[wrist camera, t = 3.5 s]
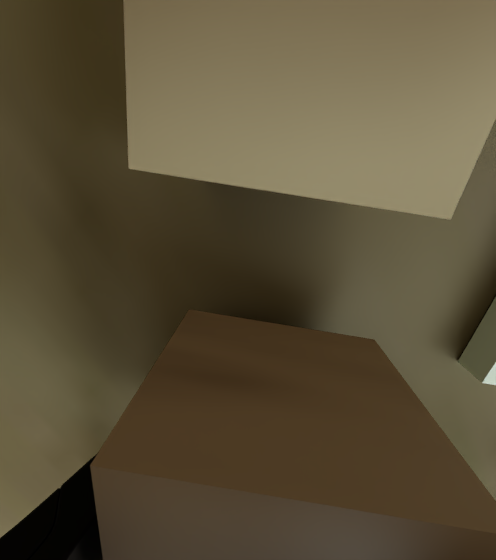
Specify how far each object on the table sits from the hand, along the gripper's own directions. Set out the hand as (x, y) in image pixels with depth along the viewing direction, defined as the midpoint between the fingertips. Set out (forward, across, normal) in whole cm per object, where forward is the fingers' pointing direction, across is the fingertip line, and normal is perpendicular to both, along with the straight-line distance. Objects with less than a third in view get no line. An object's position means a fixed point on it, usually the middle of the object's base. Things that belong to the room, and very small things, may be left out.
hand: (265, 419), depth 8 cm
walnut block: (+1, 0, 0) cm, 1 cm away
